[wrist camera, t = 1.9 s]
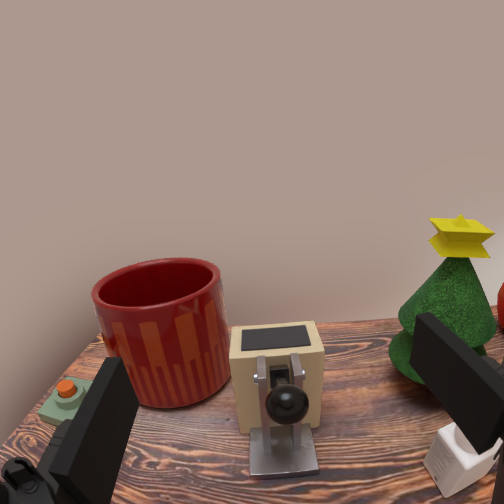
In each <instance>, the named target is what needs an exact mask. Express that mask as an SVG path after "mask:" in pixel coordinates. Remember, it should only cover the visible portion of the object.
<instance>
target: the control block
mask: <svg viewBox="0 0 504 504" xmlns="http://www.w3.org/2000/svg"><path fill="white" fill-rule="evenodd" d="M65 380H71V381H73V383H74V385H75V387H76V389H77V393H76V394H75V395H74V396H72V397H70V398H65V399H64V398H62V397H61V396H60V395H59V393H58V391H57V388H55V389H54V390H53V394H52V395H51V396H50V397H49V398H48V400H47V401H46V402H45V403H44V404H43V406H42V407H41V408H40V409H39V410H38V412H37V413H38V415H39V417H40V418H41V420H42V421H44V422H47V423H50V424H53V425H56V426H59V425H60V424H61V423H62V422H63V421H64V420H65V419H73V418H74V416H75V414H76V412H77V410H78V408H79V406H80V405H81V403H82V401H83V399H84V397H85V395H86V393H87V391H88V390H89V388H90V386H91V384H92V382H93V381H89V380H83V379H79V378H74V377H69V376H67V377H66V378H65Z"/></svg>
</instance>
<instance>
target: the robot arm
mask: <svg viewBox="0 0 504 504" xmlns="http://www.w3.org/2000/svg"><path fill="white" fill-rule="evenodd" d="M409 364H410V365H411V367H412V368H413V369H414V370H415V372H416V373H417V374H418V375H419V377H420V378H421V379H422V380H423V382H424V383H425V384H426V385H427V387H428V388H429V389H430V391H431V392H432V393H433V394H434V396H435V397H436V398H437V400H438V401H439V402H440V404H441V405H442V406H443V408H444V409H445V410H446V411H447V413H448V414H449V415H450V417H451V418H452V419H453V421H454V422H455V423H456V425H457V426H458V427H459V429H460V430H461V432H462V433H463V434H464V436H465V437H466V438H467V440H468V441H469V442H470V444H471V445H472V447H473V448H474V449H475V451H476V452H477V454H478V455H481V454H482V453H484V452H486V451H488V450H489V449H491V448H493V447H494V445H495V443H496V442H497V440H498V438H499V437H500V438H501V440H502V441H503V442H502V444H501V446H500V447H499V449H498V450H497V452H496V454H495V455H494V458H493V460H495V459H496V458H497V456H498V455H499V462H498V469H497V475H496V481H495V487H494V492H493V497H492V502H491V504H504V368H502V366H501V365H500V364H499V363H498V362H497V361H496V360H494V359H492V358H490V357H488V356H486V355H484V356H481V357H480V356H479V355H478V354H477V353H476V352H475V351H474V350H473V349H472V348H470V347H469V346H468V345H467V344H466V343H465V342H464V341H463V340H462V339H460V338H459V337H458V336H457V335H456V334H455V333H454V332H452V331H451V330H450V329H449V328H448V327H447V326H446V325H444V324H443V323H442V322H441V321H440V320H439V319H437V318H436V317H435V316H434V315H433V314H432V313H430V312H426V313H422V314H418V315H416V319H415V327H414V334H413V341H412V348H411V354H410V360H409ZM139 404H140V402H139V400H138V398H137V395H136V393H135V390H134V388H133V386H132V383H131V381H130V378H129V376H128V373H127V370H126V368H125V365H124V362H123V360H122V357H106V359H105V361H104V362H103V364H102V366H101V368H100V369H99V371H98V373H97V375H96V377H95V379H94V380H93V382H92V384H91V386H90V388H89V390H88V391H87V393H86V395H85V397H84V399H83V401H82V403H81V405H80V406H79V408H78V410H77V412H76V414H75V416H74V418H73V419H65V420H64V421H63V422H62V423H61V424H60V425H59V426H58V427H57V428H56V430H55V432H54V434H53V438H51V440H50V442H49V446H47V448H46V450H45V452H44V453H43V455H42V457H41V459H40V461H39V464H38V466H37V468H35V467H34V466H33V465H32V463H31V462H30V461H29V460H28V459H26V458H24V457H15V458H12V459H10V460H8V461H7V462H6V463H5V464H4V466H3V468H2V473H1V476H2V477H3V478H4V479H5V481H6V482H1V481H0V504H110V502H111V498H112V494H113V491H114V487H115V483H116V480H117V476H118V473H119V469H120V466H121V462H122V459H123V455H124V452H125V449H126V445H127V442H128V439H129V435H130V432H131V429H132V426H133V423H134V419H135V416H136V413H137V410H138V407H139Z"/></svg>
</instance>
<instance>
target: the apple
mask: <svg viewBox="0 0 504 504" xmlns="http://www.w3.org/2000/svg"><path fill="white" fill-rule="evenodd" d="M497 310H498V319H499V323H500V325H501V326H502V328H503V330H504V283H503V285H502V286H501V288H500V290H499V293H498V301H497Z"/></svg>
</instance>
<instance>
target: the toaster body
mask: <svg viewBox="0 0 504 504" xmlns="http://www.w3.org/2000/svg"><path fill="white" fill-rule="evenodd" d="M290 353H298V354H299V359H300V363H301V368H302V369H305V380H303V390H304V391H305V393H306V394H307V396H308V399H309V410H308V413H307V415H306V416H305V418H304V419H303V420H302V424H305V423H310V426H311V428H317V427H319V424H320V413H321V401H322V388H323V373H324V356H325V350H324V347H323V345H322V342H321V339H320V336H319V333H318V331H317V328H316V325H315V322H314V321H303V322H292V323H282V324H268V325H254V326H238V327H232V332H231V342H230V352H229V363H230V370H231V377H232V383H233V390H234V397H235V403H236V409H237V416H238V422H239V428H240V433H241V434H247V433H250V428H259V427H262V424H261V413H260V402H259V391H258V384H254V378H253V373H257V356H262V355H265V363H266V377H267V392H268V394H269V392H270V391H271V386H270V373H269V366H274V365H286V364H287V366H288V368H289V377H290ZM269 422H270V427H274V426H282V425H278V424H276V423H274V422H273V421H272V420H271V419H270V418H269Z"/></svg>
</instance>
